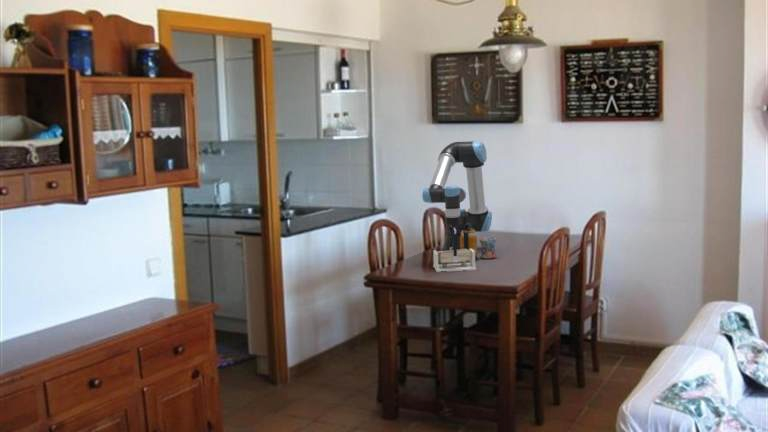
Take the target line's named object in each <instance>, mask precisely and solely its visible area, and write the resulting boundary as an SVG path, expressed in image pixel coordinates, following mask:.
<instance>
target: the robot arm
mask: <svg viewBox="0 0 768 432" xmlns="http://www.w3.org/2000/svg"><path fill="white" fill-rule="evenodd" d="M487 155H488V153H487V149H486V146H485V143H484V142H482V141H476V140H472V141H471V140H470V141H454V142H451V143H450V144H448V145H447V146H445V147H444V148H443V149H442V150H441V152H440V153H439V155H438V158H437V162H438V163H437V165H436V169H435V172H434V174H433V176H432V180H431V182H430V185H429V187H428V188H424V189H423V190H422V195H421V196H422V201H423V202H424V203H429V204H437V203H439V204H442V203H443V204H444V203H445V204H444V206H445V207H444V208H445V210H444V213H445V239H444V243H443V248H442V249H443V251H449V250H452V262H451V263H452V264H455V263H458V250H460V236H461V231H462V230H463V229H465V228H464V225H465V224H467V223H471V224H472V226H471V228H472V230H475V232H477V233H479V232H480V233H482V232H484V233H486V232H488V231H489V230H490V228H491V226H492V222H493V221H492V219H493V215H492V214H493V213H492V211H490V210H489V208H488V206H486V202H485V201H486V200H485V192H484V191H485V189H484V179H483V169H482V168H483V166H484V165H485V163H486V161H487ZM457 163H459V164H461V163H462V167H464V169H465V171H466V179H467V180H466V181H467V190H468V200H469V208H468V209H467V211H466V208H461V203H462V202H464V200H465V199H466V198H467V192H466V190H465V188H463V187H460V186H457V185H449V186H446V184H447V180H448V178H449V175H450V172H451V169H452V167H453V166H454V165H455V164H457ZM489 232H490V231H489Z"/></svg>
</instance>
